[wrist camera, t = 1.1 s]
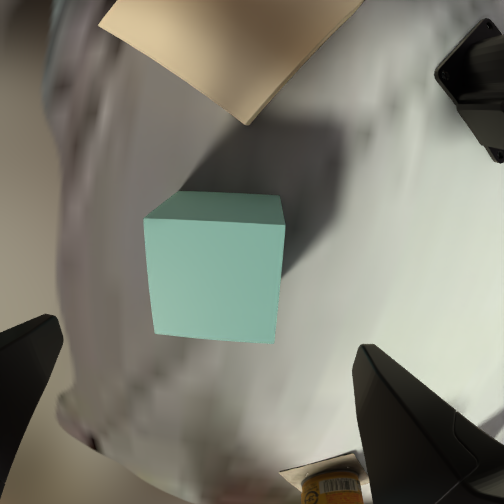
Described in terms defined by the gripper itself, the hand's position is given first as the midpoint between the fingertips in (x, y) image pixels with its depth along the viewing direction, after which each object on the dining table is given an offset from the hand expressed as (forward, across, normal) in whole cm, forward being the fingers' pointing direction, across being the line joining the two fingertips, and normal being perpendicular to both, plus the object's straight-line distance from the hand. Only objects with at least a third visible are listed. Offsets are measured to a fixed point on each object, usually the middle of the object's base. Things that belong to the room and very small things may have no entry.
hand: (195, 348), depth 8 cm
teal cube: (+9, 0, 0) cm, 9 cm away
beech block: (+9, 0, -11) cm, 14 cm away
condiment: (+9, -10, +24) cm, 28 cm away
